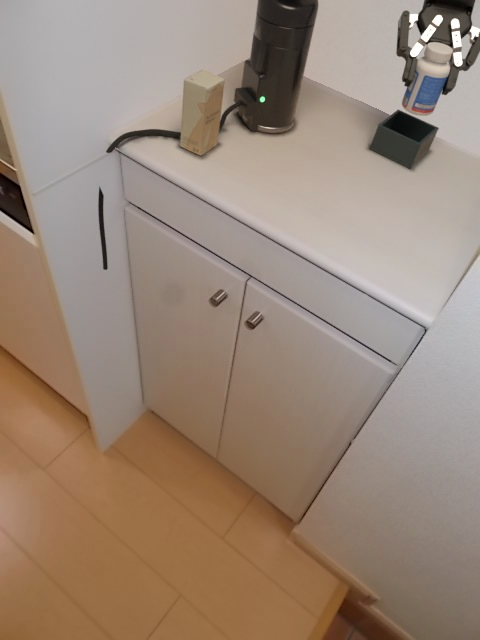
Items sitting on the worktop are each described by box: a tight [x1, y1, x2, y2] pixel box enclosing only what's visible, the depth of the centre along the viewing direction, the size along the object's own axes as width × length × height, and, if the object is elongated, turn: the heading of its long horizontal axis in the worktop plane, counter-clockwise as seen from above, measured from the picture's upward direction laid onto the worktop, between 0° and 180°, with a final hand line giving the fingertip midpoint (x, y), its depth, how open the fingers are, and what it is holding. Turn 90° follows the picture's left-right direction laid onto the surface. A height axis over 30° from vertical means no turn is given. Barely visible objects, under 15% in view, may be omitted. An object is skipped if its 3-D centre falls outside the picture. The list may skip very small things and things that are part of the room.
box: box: [179, 69, 226, 156], centre depth 82 cm, size 5×4×11 cm
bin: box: [369, 109, 440, 169], centre depth 91 cm, size 8×8×5 cm
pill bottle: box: [401, 42, 453, 117], centre depth 83 cm, size 6×5×10 cm
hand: (426, 88), depth 83 cm, fingers closed on pill bottle, 5 cm apart
